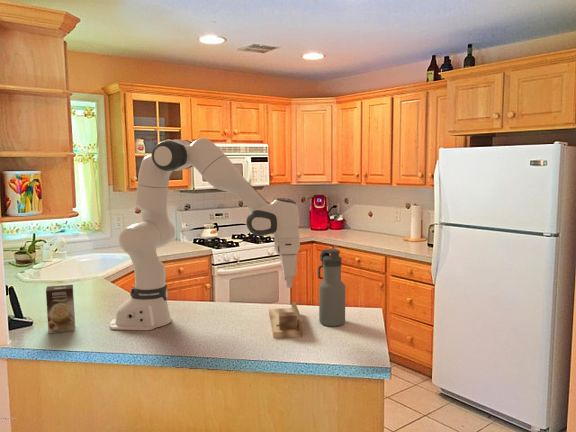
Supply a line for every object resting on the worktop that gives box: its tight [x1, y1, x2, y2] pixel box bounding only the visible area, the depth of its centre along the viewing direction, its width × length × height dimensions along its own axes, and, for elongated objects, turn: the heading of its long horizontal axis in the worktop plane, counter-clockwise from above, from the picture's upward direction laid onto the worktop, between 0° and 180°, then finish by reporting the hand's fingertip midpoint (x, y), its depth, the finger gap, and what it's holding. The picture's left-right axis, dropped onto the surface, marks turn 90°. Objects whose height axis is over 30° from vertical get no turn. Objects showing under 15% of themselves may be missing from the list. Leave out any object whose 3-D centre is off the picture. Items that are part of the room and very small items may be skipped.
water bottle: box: [317, 248, 346, 327], centre depth 186 cm, size 10×10×28 cm
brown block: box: [276, 312, 297, 330], centre depth 177 cm, size 7×4×5 cm, turn 95°
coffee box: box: [45, 284, 76, 334], centre depth 183 cm, size 9×6×16 cm
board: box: [268, 301, 304, 339], centre depth 186 cm, size 11×26×4 cm, turn 5°
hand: (288, 283), depth 175 cm, fingers open, 8 cm apart
